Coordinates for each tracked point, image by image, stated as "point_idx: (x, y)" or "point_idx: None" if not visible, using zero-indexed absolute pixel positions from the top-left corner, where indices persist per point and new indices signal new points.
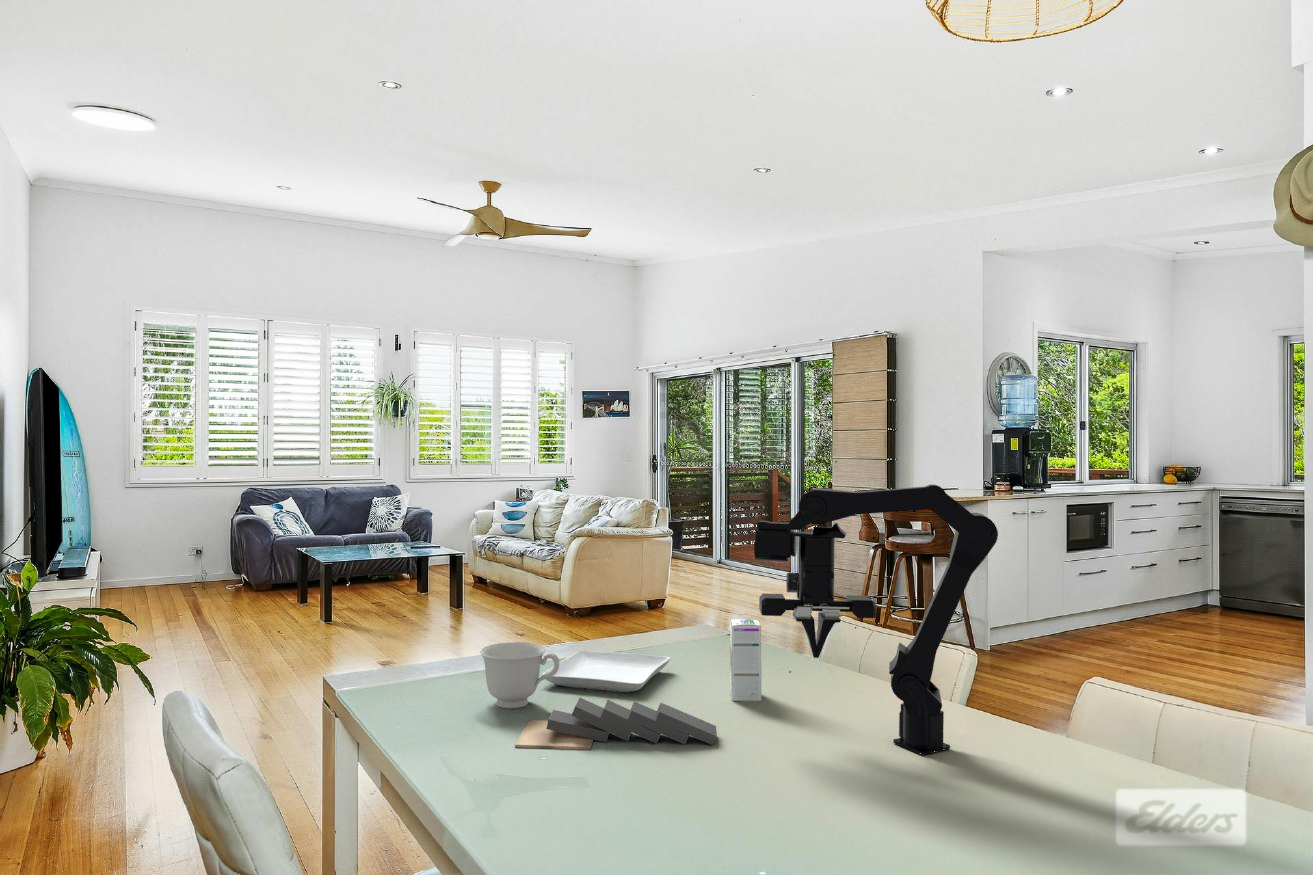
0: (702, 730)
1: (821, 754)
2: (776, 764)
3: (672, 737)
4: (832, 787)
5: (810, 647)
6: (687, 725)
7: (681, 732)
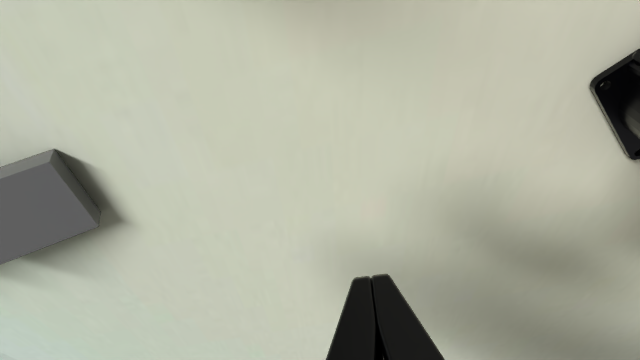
0: (58, 241)
1: (362, 201)
2: (270, 264)
3: None
4: None
5: (337, 332)
6: (15, 256)
7: None
